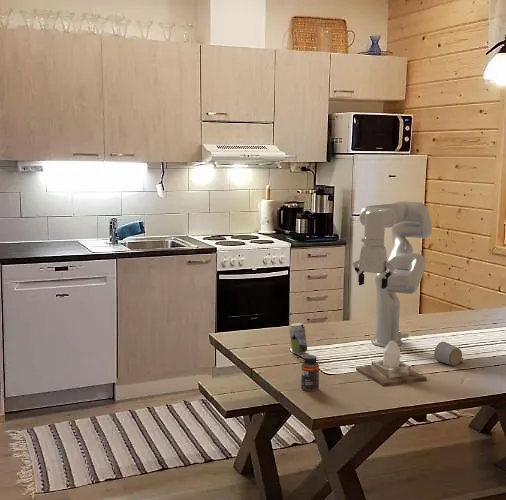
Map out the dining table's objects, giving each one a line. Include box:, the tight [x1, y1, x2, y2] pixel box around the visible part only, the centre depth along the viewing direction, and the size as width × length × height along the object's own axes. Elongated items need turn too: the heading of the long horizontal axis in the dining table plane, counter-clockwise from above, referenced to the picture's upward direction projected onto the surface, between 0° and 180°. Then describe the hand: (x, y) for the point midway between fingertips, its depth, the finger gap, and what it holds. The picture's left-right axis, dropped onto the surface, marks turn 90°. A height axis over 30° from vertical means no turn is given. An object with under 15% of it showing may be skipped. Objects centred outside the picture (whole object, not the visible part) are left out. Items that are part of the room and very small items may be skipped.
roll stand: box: [355, 359, 427, 387], centre depth 250 cm, size 18×18×4 cm
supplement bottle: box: [300, 354, 320, 392], centre depth 234 cm, size 6×6×11 cm
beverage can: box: [288, 322, 308, 355], centre depth 274 cm, size 6×7×12 cm
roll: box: [382, 341, 401, 369], centre depth 249 cm, size 6×12×6 cm
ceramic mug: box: [433, 341, 464, 366], centre depth 265 cm, size 11×8×8 cm
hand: (372, 286), depth 269 cm, fingers open, 9 cm apart
